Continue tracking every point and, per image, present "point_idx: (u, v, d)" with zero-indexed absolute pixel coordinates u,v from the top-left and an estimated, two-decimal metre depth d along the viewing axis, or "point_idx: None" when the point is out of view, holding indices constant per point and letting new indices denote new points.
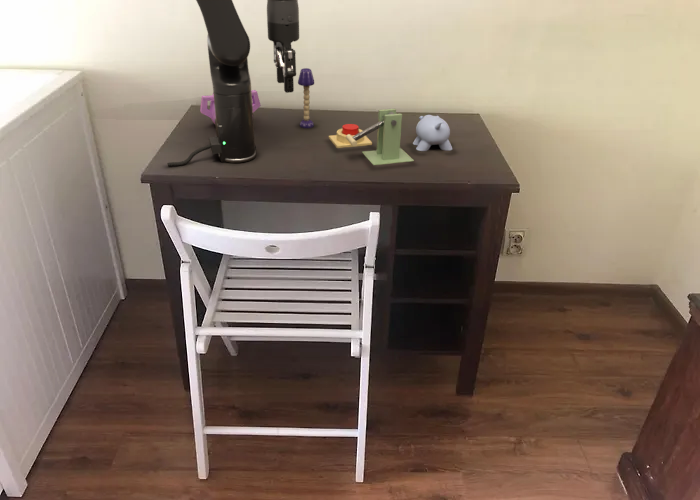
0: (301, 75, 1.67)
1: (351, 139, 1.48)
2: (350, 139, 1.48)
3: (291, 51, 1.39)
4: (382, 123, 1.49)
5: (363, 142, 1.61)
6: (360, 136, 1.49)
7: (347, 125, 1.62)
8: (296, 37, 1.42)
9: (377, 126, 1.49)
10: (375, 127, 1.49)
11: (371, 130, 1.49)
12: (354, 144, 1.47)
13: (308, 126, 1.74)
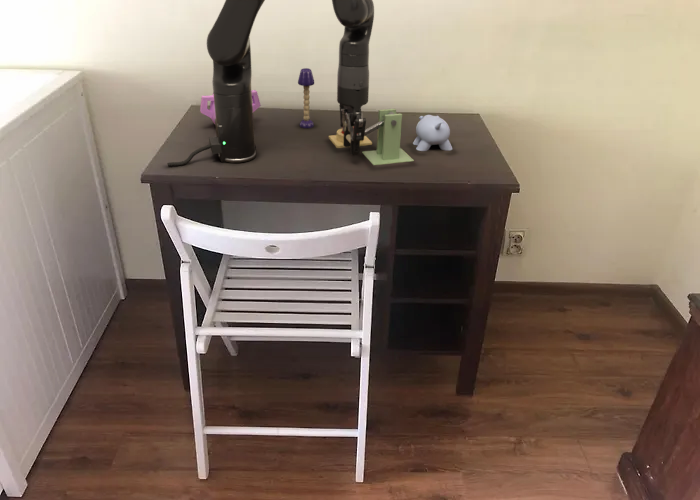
0: (301, 75, 1.67)
1: None
2: (350, 139, 1.48)
3: (362, 120, 1.40)
4: (382, 123, 1.49)
5: (363, 142, 1.61)
6: None
7: None
8: (366, 101, 1.42)
9: (377, 126, 1.49)
10: (375, 127, 1.49)
11: (371, 130, 1.49)
12: None
13: (308, 126, 1.74)
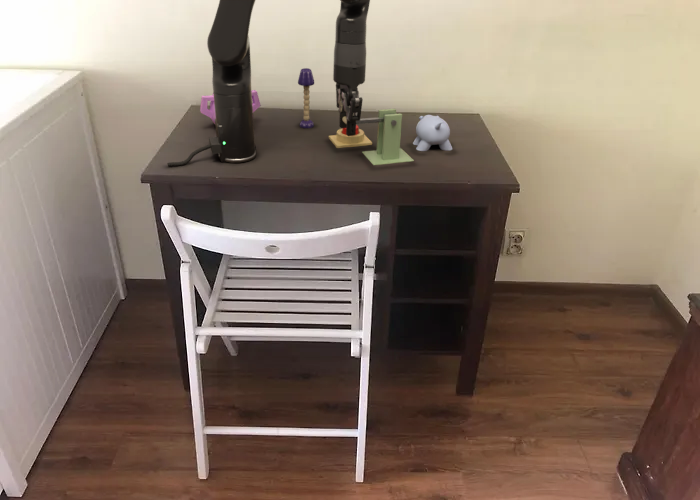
0: (301, 75, 1.67)
1: None
2: None
3: (358, 99, 1.37)
4: (382, 119, 1.48)
5: (363, 142, 1.61)
6: (357, 122, 1.47)
7: None
8: (363, 80, 1.39)
9: (376, 120, 1.48)
10: (374, 120, 1.48)
11: (369, 121, 1.47)
12: None
13: (308, 126, 1.74)
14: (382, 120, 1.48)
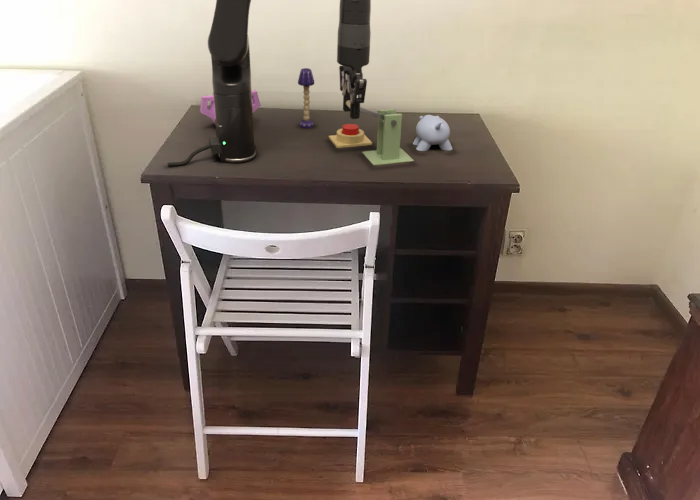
0: (301, 75, 1.67)
1: None
2: None
3: (363, 81, 1.35)
4: (383, 116, 1.48)
5: (363, 142, 1.61)
6: (360, 109, 1.45)
7: (347, 125, 1.62)
8: (367, 61, 1.37)
9: (378, 114, 1.47)
10: (376, 114, 1.47)
11: (371, 113, 1.47)
12: None
13: (308, 126, 1.74)
14: (383, 117, 1.48)
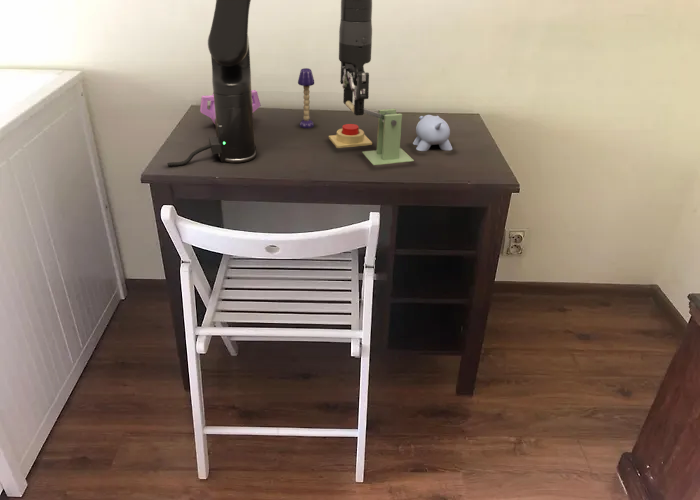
0: (301, 75, 1.67)
1: (353, 105, 1.44)
2: (352, 104, 1.44)
3: (365, 74, 1.35)
4: (383, 116, 1.48)
5: (363, 142, 1.61)
6: None
7: (347, 125, 1.62)
8: (369, 59, 1.37)
9: (378, 115, 1.47)
10: (376, 114, 1.47)
11: (371, 113, 1.47)
12: (353, 110, 1.43)
13: (308, 126, 1.74)
14: (383, 117, 1.48)
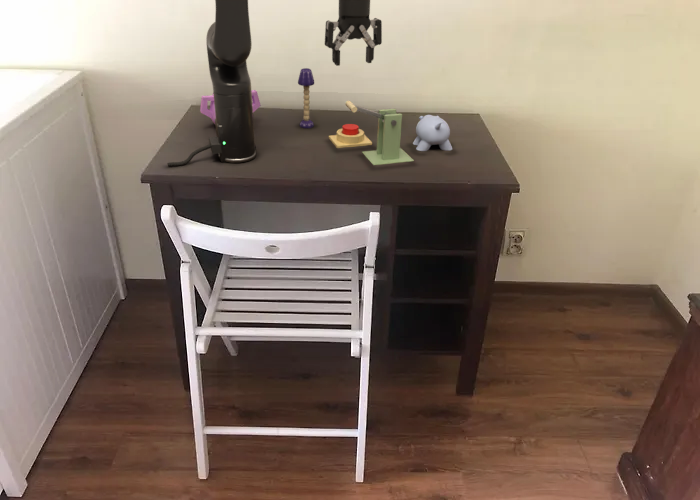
0: (301, 75, 1.67)
1: (353, 105, 1.44)
2: (352, 104, 1.44)
3: (328, 22, 1.42)
4: (383, 116, 1.48)
5: (363, 142, 1.61)
6: (360, 110, 1.45)
7: (347, 125, 1.62)
8: (347, 13, 1.41)
9: (378, 115, 1.47)
10: (376, 114, 1.47)
11: (371, 113, 1.47)
12: (353, 110, 1.43)
13: (308, 126, 1.74)
14: (383, 117, 1.48)
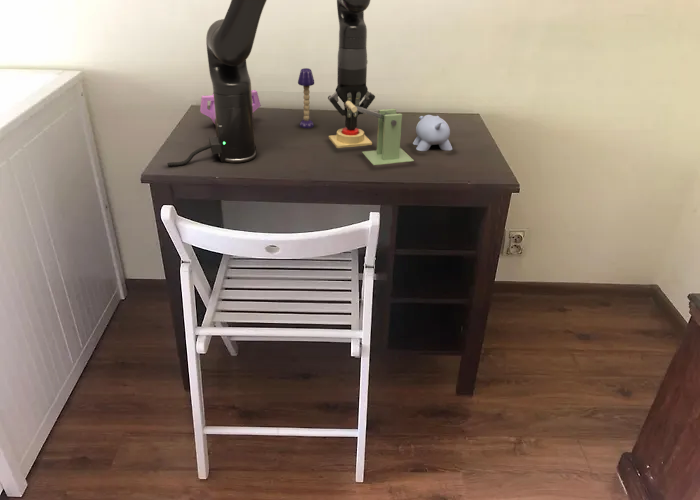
0: (301, 75, 1.67)
1: (353, 105, 1.44)
2: (352, 104, 1.44)
3: (329, 99, 1.55)
4: (383, 116, 1.48)
5: (363, 142, 1.61)
6: (360, 110, 1.45)
7: None
8: (344, 82, 1.52)
9: (378, 115, 1.47)
10: (376, 114, 1.47)
11: (371, 113, 1.47)
12: (353, 110, 1.43)
13: (308, 126, 1.74)
14: (383, 117, 1.48)
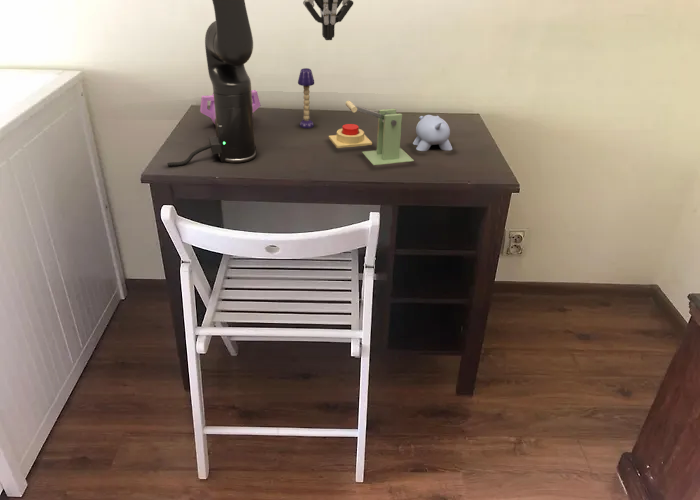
0: (301, 75, 1.67)
1: (353, 105, 1.44)
2: (352, 104, 1.44)
3: (304, 3, 1.46)
4: (383, 116, 1.48)
5: (363, 142, 1.61)
6: (360, 110, 1.45)
7: (347, 125, 1.62)
8: None
9: (378, 115, 1.47)
10: (376, 114, 1.47)
11: (371, 113, 1.47)
12: (353, 110, 1.43)
13: (308, 126, 1.74)
14: (383, 117, 1.48)
